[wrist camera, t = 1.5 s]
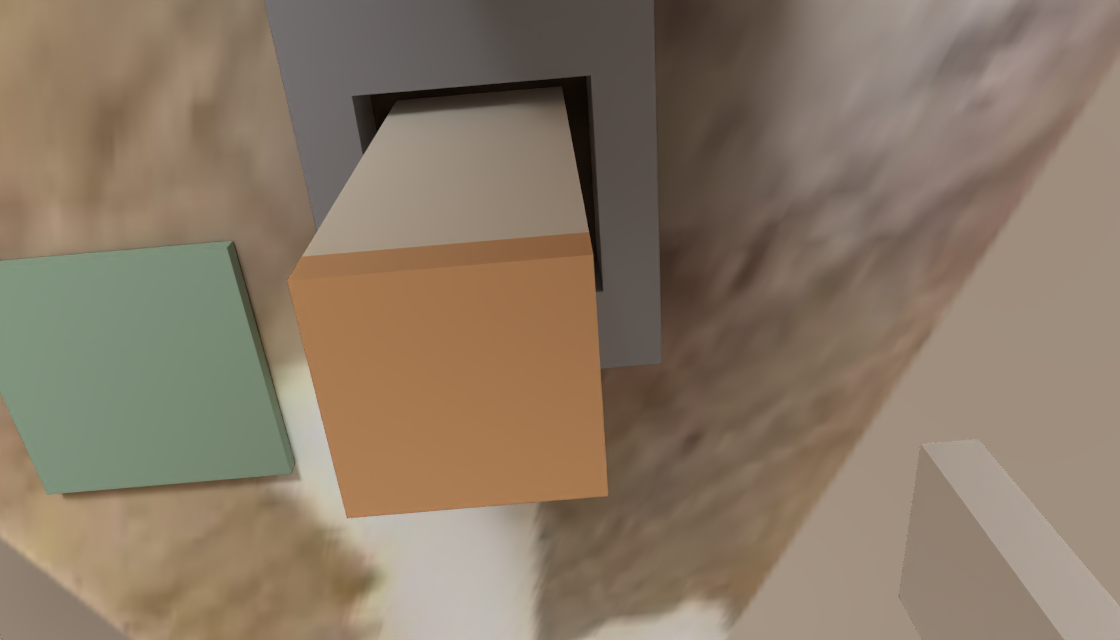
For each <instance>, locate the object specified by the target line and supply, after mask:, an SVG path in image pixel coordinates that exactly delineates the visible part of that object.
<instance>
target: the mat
mask: <svg viewBox="0 0 1120 640" xmlns="http://www.w3.org/2000/svg"><path fill="white" fill-rule="evenodd" d="M0 393H1V395H2V397H3V399H4V401H5V404H6V406H7V408H8V410H9V412H10V414H11V417H12V419H13V421H14V423H15V425H16V427H17V430H18V432H19V434H20V436H21V438H22V440H23V443H24V445H25V447H26V449H27V451H28V453H29V456H30V458H31V460H32V462H33V464H34V466H35V469H36V471H37V473H38V475H39V477H40V480H41V482H42V484H43V486H44V488H45V490H46V493H47V495H49V494H60V493H72V492H84V491H95V490H107V489H119V488H131V487H142V486H154V485H166V484H178V483H189V482H201V481H213V480H224V479H236V478H248V477H260V476H271V475H283V474H291V473H292V470H293V468H294V465H295V462H294V458H293V455H292V451H291V448H290V444H289V440H288V437H287V433H286V430H285V426H284V422H283V419H282V415H281V412H280V408H279V405H278V401H277V397H276V394H275V390H274V387H273V383H272V379H271V376H270V372H269V369H268V365H267V362H266V358H265V354H264V351H263V347H262V344H261V340H260V336H259V333H258V329H257V326H256V322H255V319H254V315H253V311H252V308H251V304H250V301H249V297H248V293H247V290H246V286H245V283H244V279H243V276H242V272H241V268H240V265H239V261H238V258H237V254H236V250H235V247H234V243H233V241H223V242H212V243H200V244H188V245H177V246H165V247H153V248H142V249H130V250H118V251H107V252H95V253H83V254H72V255H60V256H48V257H37V258H25V259H13V260H2V261H0Z"/></svg>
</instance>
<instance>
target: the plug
mask: <svg viewBox="0 0 1120 640" xmlns="http://www.w3.org/2000/svg"><path fill="white" fill-rule="evenodd" d="M287 282H288V286H289V290H290V294H291V298H292V302H293V306H294V310H295V314H296V318H297V322H298V326H299V330H300V334H301V338H302V342H303V346H304V350H305V354H306V358H307V362H308V366H309V370H310V373H311V377H312V381H313V385H314V389H315V393H316V397H317V401H318V405H319V409H320V413H321V417H322V421H323V425H324V429H325V433H326V437H327V441H328V445H329V449H330V453H331V457H332V461H333V465H334V469H335V472H336V476H337V480H338V484H339V488H340V492H341V496H342V500H343V504H344V508H345V512H346V516H347V518H355V517H367V516H379V515H391V514H402V513H414V512H426V511H438V510H449V509H461V508H473V507H485V506H497V505H508V504H520V503H532V502H544V501H555V500H567V499H579V498H591V497H603V496H608V482H607V466H606V450H605V434H604V418H603V402H602V386H601V370H600V354H599V338H598V322H597V306H596V290H595V274H594V258H593V251H592V245H591V240H590V235H589V229H588V224H587V219H586V213H585V208H584V203H583V197H582V192H581V187H580V181H579V176H578V171H577V165H576V160H575V155H574V149H573V144H572V139H571V133H570V128H569V123H568V117H567V112H566V107H565V101H564V96H563V91H562V86H559V87H547V88H536V89H524V90H512V91H501V92H489V93H477V94H466V95H454V96H442V97H431V98H419V99H407V100H397V101H396V102H395V104H394V106H393V107H392V109H391V111H390V112H389V114H388V116H387V117H386V119H385V120H384V122H383V124H382V125H381V127H380V129H379V130H378V132H377V134H376V135H375V137H374V139H373V140H372V142H371V144H370V145H369V147H368V148H367V150H366V152H365V153H364V155H363V157H362V158H361V160H360V162H359V163H358V165H357V167H356V168H355V170H354V171H353V173H352V175H351V176H350V178H349V180H348V181H347V183H346V185H345V186H344V188H343V190H342V191H341V193H340V195H339V196H338V198H337V199H336V201H335V203H334V204H333V206H332V208H331V209H330V211H329V213H328V214H327V216H326V218H325V219H324V221H323V222H322V224H321V226H320V227H319V229H318V231H317V232H316V234H315V236H314V237H313V239H312V241H311V242H310V244H309V246H308V247H307V249H306V250H305V252H304V254H303V255H302V257H301V259H300V260H299V262H298V264H297V265H296V267H295V269H294V270H293V272H292V273H291V275H290V277H289V278H288V280H287Z"/></svg>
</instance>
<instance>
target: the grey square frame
mask: <svg viewBox="0 0 1120 640" xmlns="http://www.w3.org/2000/svg"><path fill="white" fill-rule="evenodd" d="M264 1H265V6H266V10H267V15H268V19H269V23H270V28H271V32H272V37H273V41H274V45H275V50H276V54H277V59H278V63H279V67H280V72H281V76H282V81H283V85H284V89H285V94H286V98H287V103H288V107H289V111H290V116H291V120H292V125H293V129H294V133H295V138H296V142H297V147H298V151H299V155H300V160H301V164H302V169H303V173H304V177H305V182H306V186H307V191H308V195H309V199H310V204H311V208H312V213H313V217H314V221H315V226H316V230H317V231H318V229H319V227H320V226H321V224H322V222H323V221H324V219H325V218H326V216H327V214H328V213H329V211H330V209H331V208H332V206H333V204H334V203H335V201H336V199H337V198H338V196H339V195H340V193H341V191H342V190H343V188H344V186H345V185H346V183H347V181H348V180H349V178H350V176H351V175H352V173H353V171H354V170H355V168H356V167H357V165H358V163H359V162H360V160H361V158H362V157H363V155H364V153H365V152H366V150H367V148H368V147H369V145H370V144H371V142H372V140H373V139H374V137H375V135H376V134H377V129H376V123H375V118H374V112H373V107H372V101H371V96H370V94H381V93H392V92H404V91H416V90H427V89H439V88H451V87H462V86H474V85H486V84H497V83H509V82H520V81H532V80H544V79H555V78H567V77H579V76H586V84H587V100H588V117H589V133H590V150H591V166H592V183H593V200H594V216H595V233H596V249H597V259H595V260H594V274H595V290H596V306H597V322H598V338H599V354H600V369H606V368H617V367H629V366H641V365H653V364H662V340H661V296H660V251H659V206H658V162H657V117H656V73H655V28H654V0H264Z"/></svg>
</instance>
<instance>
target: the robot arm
mask: <svg viewBox="0 0 1120 640" xmlns="http://www.w3.org/2000/svg"><path fill="white" fill-rule="evenodd" d="M899 598H900V600H901V602H902V604H903V606H904V607H905V609H906V611H907V613H908V615H909V617H910V619H911V620H912V622H913V624H914V626H915V628H916V630H917V631H918V633H919V635H920V637H921V639H922V640H1120V607H1119V606H1118V604H1117V603H1116V602H1115V601H1114V599H1113V598H1112V597H1111V596H1110V595H1109V593H1108V592H1107V591H1106V590H1105V589H1104V588H1103V586H1102V585H1101V584H1100V583H1099V582H1098V581H1097V579H1096V578H1095V577H1094V576H1093V575H1092V573H1091V572H1090V571H1089V570H1088V569H1087V567H1086V566H1085V565H1084V564H1083V563H1082V562H1081V561H1080V559H1079V558H1078V557H1077V556H1076V554H1075V553H1074V552H1073V551H1072V550H1071V549H1070V547H1069V546H1068V545H1067V544H1066V543H1065V541H1064V540H1063V539H1062V538H1061V537H1060V535H1059V534H1058V533H1057V532H1056V531H1055V530H1054V528H1053V527H1052V526H1051V525H1050V524H1049V522H1048V521H1047V520H1046V519H1045V518H1044V517H1043V515H1042V514H1041V513H1040V512H1039V511H1038V510H1037V508H1036V507H1035V506H1034V505H1033V504H1032V502H1031V501H1030V500H1029V499H1028V498H1027V496H1026V495H1025V494H1024V493H1023V492H1022V491H1021V490H1020V488H1019V487H1018V486H1017V485H1016V483H1015V482H1014V481H1013V480H1012V479H1011V478H1010V476H1009V475H1008V474H1007V473H1006V472H1005V470H1004V469H1003V468H1002V467H1001V466H1000V465H999V463H998V462H997V461H996V460H995V459H994V458H993V456H992V455H991V454H990V453H989V451H988V450H987V449H986V448H985V447H984V446H983V445H982V443H981V442H980V441H979V440H978V439H970V440H959V441H947V442H935V443H923V444H921V445H920V452H919V459H918V466H917V472H916V480H915V487H914V493H913V500H912V507H911V514H910V521H909V528H908V534H907V541H906V548H905V555H904V562H903V569H902V576H901V583H900V590H899ZM0 640H3V639H2V637H1V635H0Z"/></svg>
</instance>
